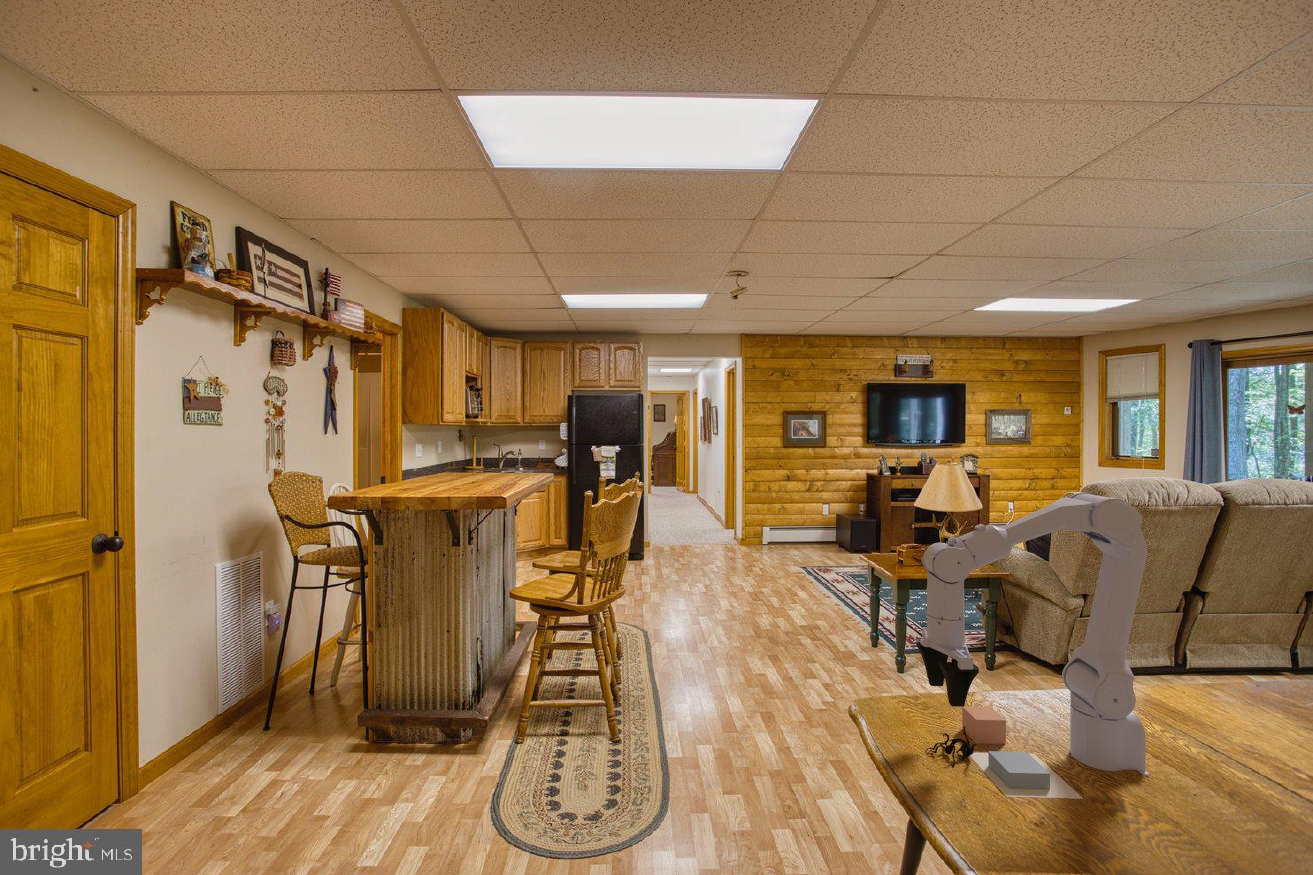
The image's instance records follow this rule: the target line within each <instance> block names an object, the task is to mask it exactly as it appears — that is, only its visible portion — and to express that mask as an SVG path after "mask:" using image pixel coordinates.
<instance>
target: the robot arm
mask: <svg viewBox="0 0 1313 875" xmlns="http://www.w3.org/2000/svg"><path fill="white" fill-rule="evenodd" d="M1142 522H1143V516H1142V514H1141V513H1140V512H1139V511H1138V510H1137V509H1136V508H1135V507H1134V506H1133V505H1132V504H1131V503H1129V502H1128V501H1126V500H1125V499H1122V498H1118V497H1117V498H1116V497H1108V496H1102V495H1097V494H1096V495H1094V494H1091V493H1089V492H1078V493H1074V494H1072V495H1069V497H1068V496H1066V497H1061V498H1059V499H1057V500H1055V501H1054V502H1052V503H1051V504H1048V505H1047V506H1043V508H1040V509H1037V510H1036V511H1034V512H1032V513H1029V514H1027V515H1025V516H1023V517H1021V518H1019V519H1017V520H1014V521H1012V522H1010V523H1008V524H1006V525H1004V526H1002V527H999V526H997V525H993V524H987V525H985V524H982V523H978V524H977V525H975V526H974V529H975V530H972V531H970V532H968V533H966V534H965V533H964V534H963V535H960V536H958V537H955V536H951V537H948V539H947V541H948V542H947V543H945V542H935V543H932V544H931V545H929V546H928V547H927V549H925V550H924V553H923V556H922V557H921V558H920V559H921V564H922V566H923V567H924V569H925V570H926V571H927V573H926V578H927V579H926V580H927V582H926V583H927V584H926V615H927V616H926V626H925V627H924V626H922V628H921V632H922V633H921V635H922V636H921V637H922V638H921V639H920V640H919V641H918V642H916V643H915V644H916V648H917V649H918V651H919V654H920V655H921V658H922V660H923V664H924V667H925V671H926V677H927V680H928V683H929V686H930V687H943V686H944V683H945V685H946V694H947V700H948V704H949V705H950V707H960V708H961V707H964V706H965V704H966V701H967V697H968V693H969V690H970V688H971V685H972V683H973V681H974V679H975V678H976V677H977V675H978V674H979V673H980V667H978V666H977V665H976V664H975V663H974V657H973V656H972V655H971V653H970V652H969V649H968V645H967V643H966V642H965V641H966V639H965V638H966V637H965V636H966V635H965V633H966V632H965V630H966V629H965V618H966V617H965V580H966V579H967V578H968V577H969V575H970V573H971V571H975V570H977V569H979V568H982V567H984V566H987V565H989V564H993V563H994V562H997V561H999V560H1001V559H1005V558H1008V557H1009V556H1010V553H1011V552H1012V549H1013V547H1014V546H1016V545H1019V544H1023V543H1024V542H1025V543H1026V542H1027V541H1028V542H1029V541H1031V540H1033V539H1037V538H1038V537H1039V538H1040V537H1042V536H1045V535H1047V534H1050V533H1053V532H1056V531H1059V530H1068V531H1075V532H1076V531H1077V532H1080V533H1082V534H1083V535H1085V536H1087V537H1088V538H1089V539H1090V540H1091V541H1092V542H1093V543H1094V545H1096V547H1097V548H1098V549H1099V550H1100V551H1101V552H1102V559H1101V562H1100V563H1101V564H1100V567H1099V573H1098V576H1097V577H1098V578H1097V581H1096V587H1095V590H1094V595H1093V600H1092V605H1091V611H1090V613H1089V614H1090V615H1089V620H1088V624H1087V630H1086V633H1085V639H1084V641H1083V644H1081V645H1080V646H1078V647H1076V648H1074V649H1073V652H1072V655H1071V658H1070V660H1069V661H1068V662H1067V663H1066V664H1065V665H1064V667H1063V670H1062V674H1061V678H1062V682H1063V684H1064V686H1065V687H1066V689H1068V691H1069V692H1070V694H1069V698H1070V702H1069V703H1070V706H1069V708H1070V709H1069V710H1070V714H1069V715H1070V717H1069V718H1070V719H1069V721H1070V725H1069V726H1070V727H1069V728H1070V730H1069V731H1070V733H1069V734H1070V735H1069V736H1070V737H1069V740H1070V742H1069V744H1070V746H1069V747H1070V748H1069V749H1070V750H1069V751H1070V755H1071V757H1073V758H1074V759H1075V761H1078V762H1080V763H1081V764H1083V765H1086V766H1088V767H1091V768H1093V769H1098V770H1101V771H1106V772H1107V771H1108V772H1118V771H1125V770H1126V771H1127V770H1131V771H1133V770H1136V771H1138V772H1139V773H1140V774H1142V775H1143V776H1145V777H1146V778H1148V777H1150V773H1149V772H1148V771H1146V750H1147V749H1146V746H1147V745H1146V738H1147V737H1146V731H1145V728H1144V725H1143V723H1142V721H1141V718H1139V716H1138V715H1137V714H1136V713H1135V712H1134V709H1135V707H1136V703H1137V702H1136V701H1137V697H1136V694H1135V690H1134V681H1135V676H1134V674H1133V671H1132V669H1131V667H1130V665H1129V663H1128V661H1127V658H1126V653H1127V650H1128V646H1129V641H1130V636H1131V632H1132V626H1133V622H1134V616H1135V612H1136V608H1137V603H1138V599H1139V594H1140V590H1141V589H1140V588H1141V586H1142V581H1143V576H1144V570H1145V566H1146V562H1147V558H1148V546H1147V543H1146V541H1145V538H1144V533H1143V530H1142V528H1141V527H1142ZM949 658H950V659H951V661H948V659H949Z"/></svg>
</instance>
